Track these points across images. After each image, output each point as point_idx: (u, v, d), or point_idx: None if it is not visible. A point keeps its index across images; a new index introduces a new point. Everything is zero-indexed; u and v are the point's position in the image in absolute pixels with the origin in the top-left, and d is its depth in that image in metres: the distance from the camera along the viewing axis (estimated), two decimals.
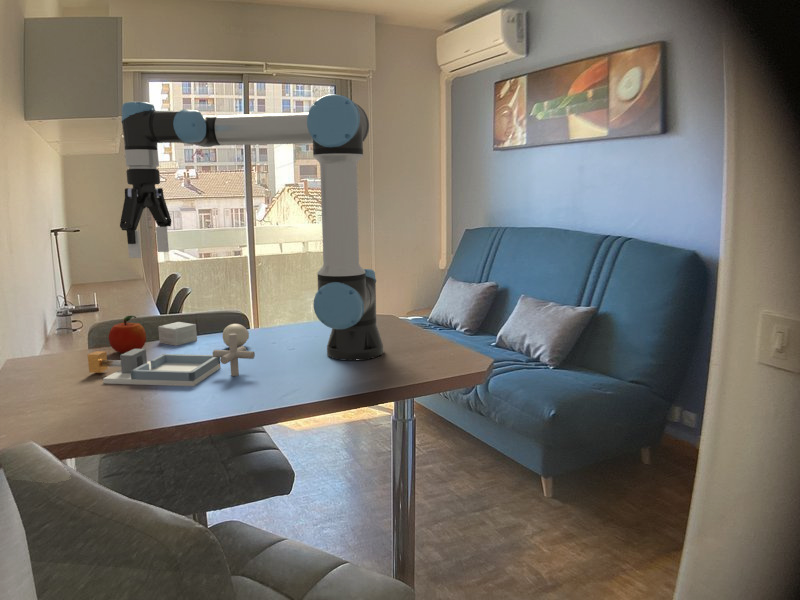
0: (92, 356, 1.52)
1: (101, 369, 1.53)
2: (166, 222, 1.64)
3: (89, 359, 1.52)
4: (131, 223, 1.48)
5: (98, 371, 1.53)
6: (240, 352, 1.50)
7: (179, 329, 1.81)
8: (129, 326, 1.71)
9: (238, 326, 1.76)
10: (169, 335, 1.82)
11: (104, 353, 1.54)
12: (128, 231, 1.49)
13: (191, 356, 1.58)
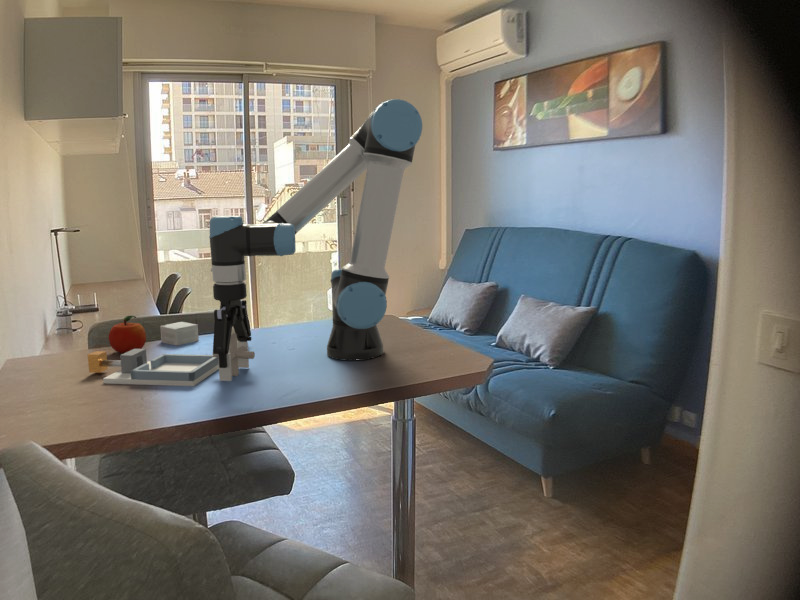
0: (92, 356, 1.52)
1: (101, 369, 1.53)
2: (247, 336, 1.56)
3: (89, 359, 1.52)
4: (224, 348, 1.43)
5: (98, 371, 1.53)
6: (240, 352, 1.50)
7: (180, 329, 1.81)
8: (129, 326, 1.71)
9: None
10: (170, 335, 1.82)
11: (104, 353, 1.54)
12: (220, 355, 1.44)
13: (191, 356, 1.58)
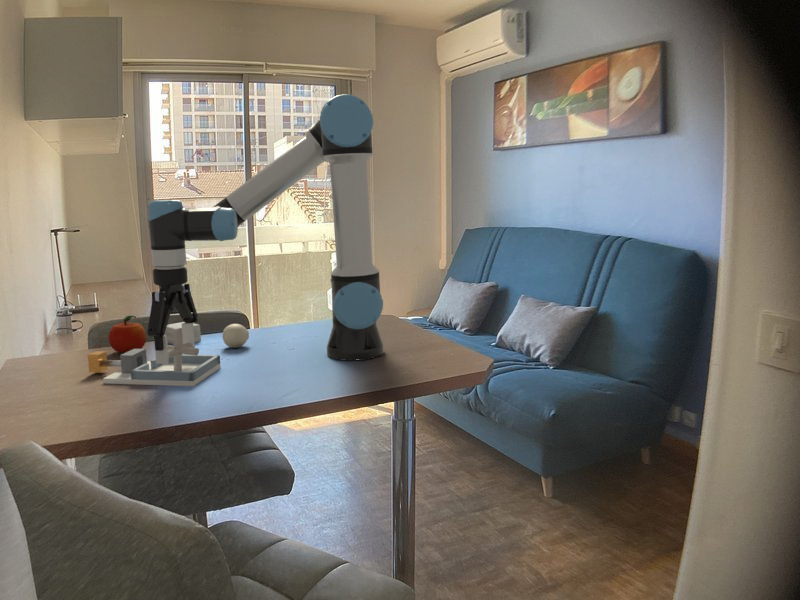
0: (92, 356, 1.52)
1: (101, 369, 1.53)
2: (192, 318, 1.56)
3: (89, 359, 1.52)
4: (159, 330, 1.40)
5: (98, 371, 1.53)
6: (184, 348, 1.50)
7: None
8: (129, 326, 1.71)
9: (238, 326, 1.76)
10: (172, 335, 1.82)
11: (104, 353, 1.54)
12: (156, 337, 1.42)
13: (191, 356, 1.58)
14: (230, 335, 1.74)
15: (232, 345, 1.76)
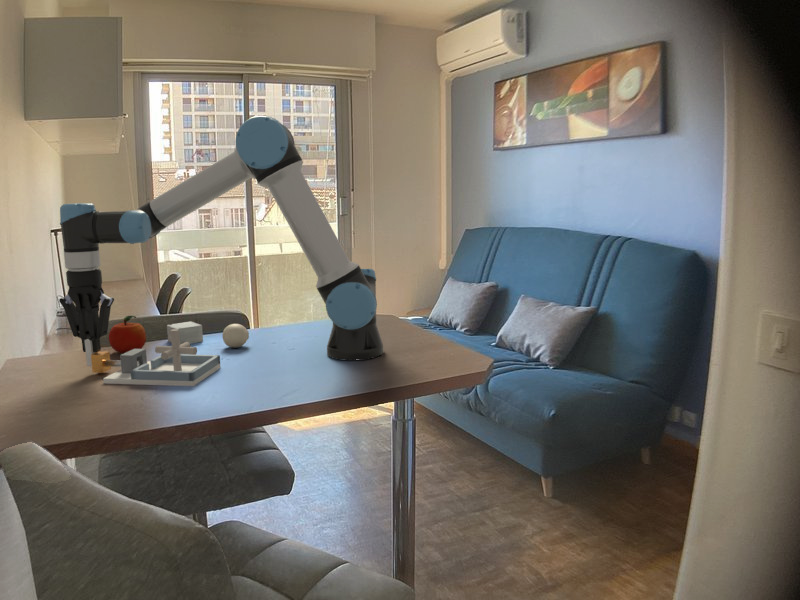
0: (95, 356, 1.52)
1: (104, 369, 1.53)
2: (91, 335, 1.52)
3: (92, 359, 1.52)
4: (74, 332, 1.52)
5: (101, 371, 1.52)
6: (182, 348, 1.50)
7: (182, 329, 1.81)
8: (129, 326, 1.71)
9: (238, 326, 1.76)
10: None
11: (107, 353, 1.54)
12: None
13: (191, 356, 1.58)
14: (230, 335, 1.74)
15: (232, 345, 1.76)
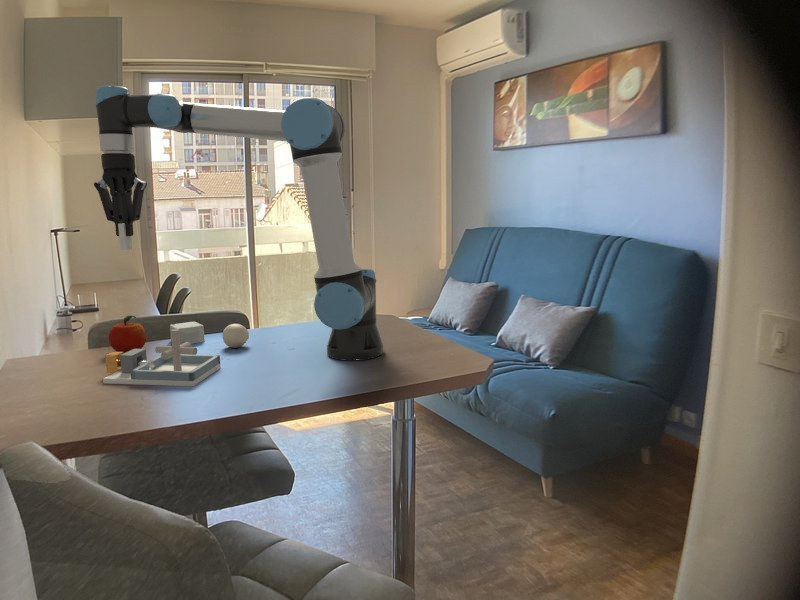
0: (110, 356, 1.51)
1: None
2: (125, 218, 1.56)
3: (107, 359, 1.52)
4: (108, 216, 1.56)
5: None
6: (182, 348, 1.50)
7: (182, 329, 1.81)
8: (129, 326, 1.71)
9: (238, 326, 1.76)
10: None
11: (122, 353, 1.54)
12: None
13: (191, 356, 1.58)
14: (230, 335, 1.74)
15: (232, 345, 1.76)
